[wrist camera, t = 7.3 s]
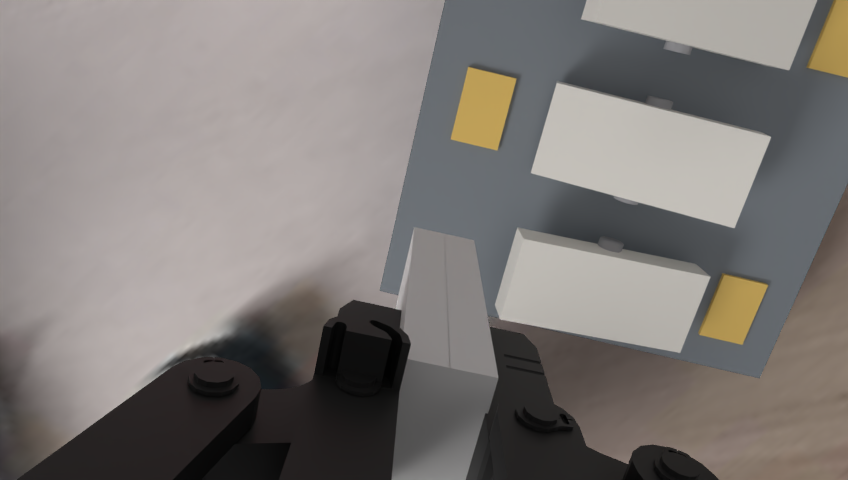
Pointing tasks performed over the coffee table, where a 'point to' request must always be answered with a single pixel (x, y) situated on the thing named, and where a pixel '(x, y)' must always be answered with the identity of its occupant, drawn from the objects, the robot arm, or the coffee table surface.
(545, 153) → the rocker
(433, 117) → the switch unit
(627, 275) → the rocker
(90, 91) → the coffee table surface
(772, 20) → the block
